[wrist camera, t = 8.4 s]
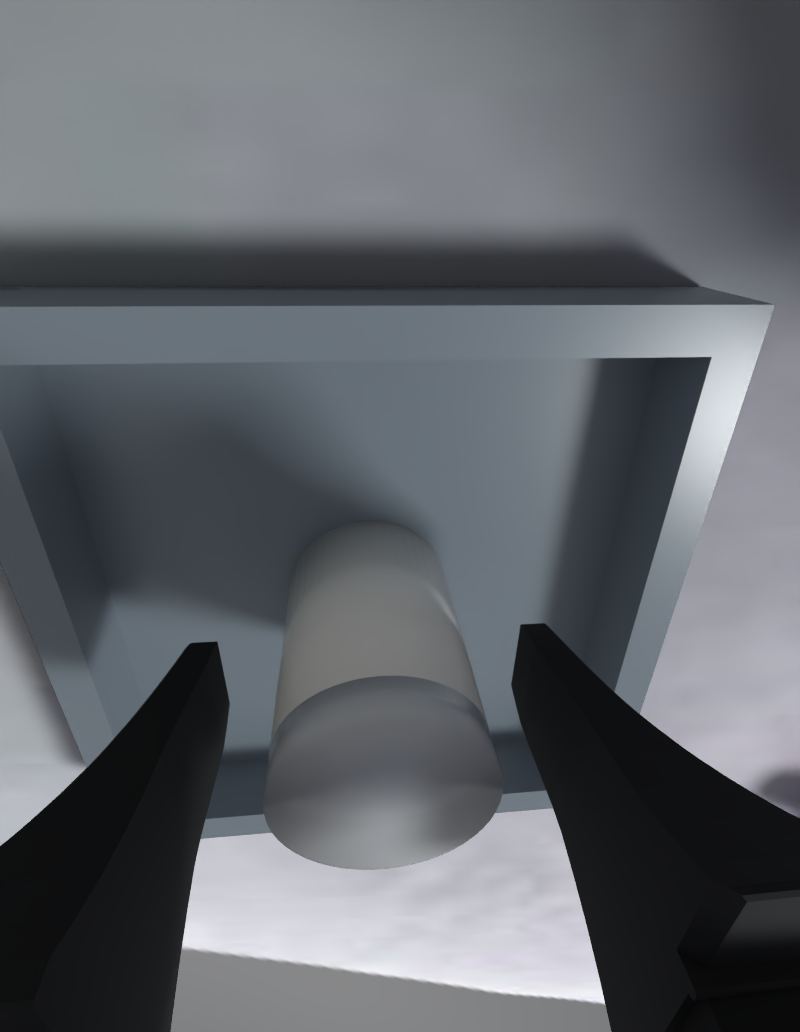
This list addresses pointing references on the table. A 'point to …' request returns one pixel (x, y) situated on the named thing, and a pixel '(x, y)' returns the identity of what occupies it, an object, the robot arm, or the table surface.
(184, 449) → the tray
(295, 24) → the table surface
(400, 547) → the cylinder
